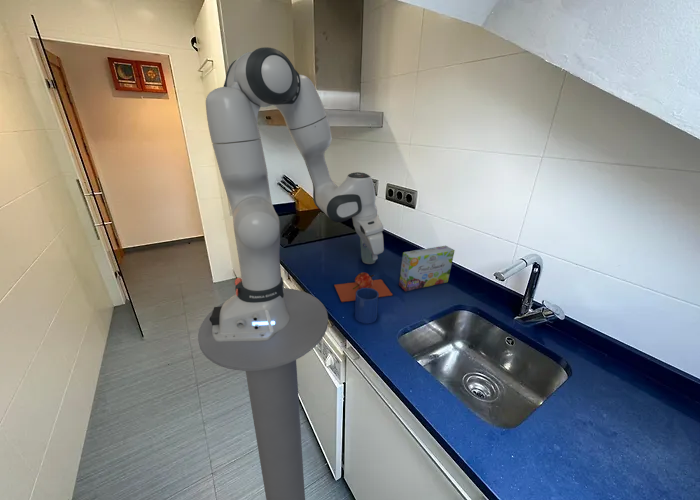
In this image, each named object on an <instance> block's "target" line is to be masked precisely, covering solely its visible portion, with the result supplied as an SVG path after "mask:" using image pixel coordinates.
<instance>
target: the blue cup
mask: <svg viewBox="0 0 700 500" xmlns="http://www.w3.org/2000/svg"><path fill="white" fill-rule="evenodd" d="M379 298H380V297H379V293H378V292H377V291H376V290H375V289H372V288H361V289H358V290H357V291H356V299H355V301H354V302H355V303H354V318H355V320H356V321H358V322H359V323H361V324H372V323H374V322H376V321H377V319H378V309H379Z"/></svg>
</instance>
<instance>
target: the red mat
mask: <svg viewBox="0 0 700 500" xmlns="http://www.w3.org/2000/svg"><path fill="white" fill-rule="evenodd" d="M372 280H373V285H372V287H371V288H372V289H375V290H376V291H377V292H378V293H379V298H383V297H392V296H393V293H392V292H391V290H390V289H389V288H388V286H387V285H386V284H385V282H384V280H383V279H372ZM357 285H358V284H357V283H356V282H355V281H354V282H347V283H346V282H345V283H337V284H334V285H333V286H334V288H335V290H336V293H337V295H338V298H339V300H340V302H341V303H346V302H347V303H348V302H355V299H356V291H357V290H358V289H360V288H359V286H358V287H356V286H357ZM355 287H356V288H355ZM353 288H354V289H353Z"/></svg>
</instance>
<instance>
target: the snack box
mask: <svg viewBox="0 0 700 500" xmlns="http://www.w3.org/2000/svg"><path fill="white" fill-rule="evenodd" d="M455 252H456V250H455V249H453V248H451V247H450V246H448V245H439V246H433V247H428V248H422V249H415V250H410V251H404V252H402V257H401V265H400V271H399V272H400V273H399V282H398V286H399V287H400V288H401V289H402V290H403V291H404V292H409V291H414V290H418V289H422V288H428V287H432V286H437V285H441V284H445V283H448V282H449V278H450V274H451V270H452V266H453V260H454V255H455Z"/></svg>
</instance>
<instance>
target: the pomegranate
mask: <svg viewBox="0 0 700 500" xmlns="http://www.w3.org/2000/svg"><path fill="white" fill-rule="evenodd" d="M373 277H375V274H369V273H368V272H364V271H363V272H360V273H358V274H357V275H356V277H355V278H354V282H356V283H357V284H358V285H357V286H356V287H358V286H359V288H360V289H361V288H371V287H372V285H373V280H374V279H373ZM356 287H355V288H356ZM353 289H354V288H353Z"/></svg>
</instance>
